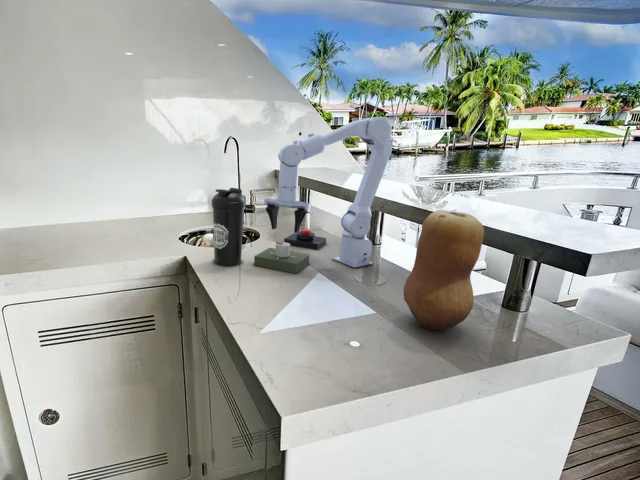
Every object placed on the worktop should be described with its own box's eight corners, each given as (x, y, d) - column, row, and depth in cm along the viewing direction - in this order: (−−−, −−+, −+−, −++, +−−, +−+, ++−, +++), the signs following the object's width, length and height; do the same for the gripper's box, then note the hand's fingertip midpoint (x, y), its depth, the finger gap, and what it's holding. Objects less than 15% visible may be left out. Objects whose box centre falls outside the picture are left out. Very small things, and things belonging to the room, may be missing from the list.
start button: (312, 234, 142) (312, 229, 142) (308, 236, 139) (309, 231, 139) (302, 232, 144) (303, 228, 143) (299, 234, 141) (299, 230, 140)
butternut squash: (480, 337, 79) (512, 219, 70) (424, 343, 76) (450, 220, 68) (435, 308, 91) (457, 205, 83) (385, 312, 89) (402, 206, 80)
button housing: (325, 243, 144) (326, 233, 143) (317, 249, 136) (318, 239, 134) (293, 238, 150) (294, 228, 149) (283, 244, 142) (284, 233, 140)
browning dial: (291, 254, 120) (292, 242, 118) (286, 258, 116) (286, 245, 115) (278, 252, 122) (279, 240, 120) (273, 255, 118) (273, 243, 117)
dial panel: (308, 263, 121) (309, 254, 120) (296, 273, 112) (296, 263, 111) (269, 256, 128) (269, 247, 127) (254, 265, 119) (254, 255, 118)
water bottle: (205, 261, 121) (204, 188, 113) (227, 254, 128) (228, 185, 120) (227, 269, 114) (228, 192, 107) (250, 261, 122) (252, 189, 114)
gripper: (260, 185, 114) (258, 229, 119) (306, 190, 108) (302, 236, 112) (270, 183, 120) (268, 225, 125) (314, 187, 114) (310, 231, 118)
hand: (285, 230), depth 119 cm, fingers open, 7 cm apart
